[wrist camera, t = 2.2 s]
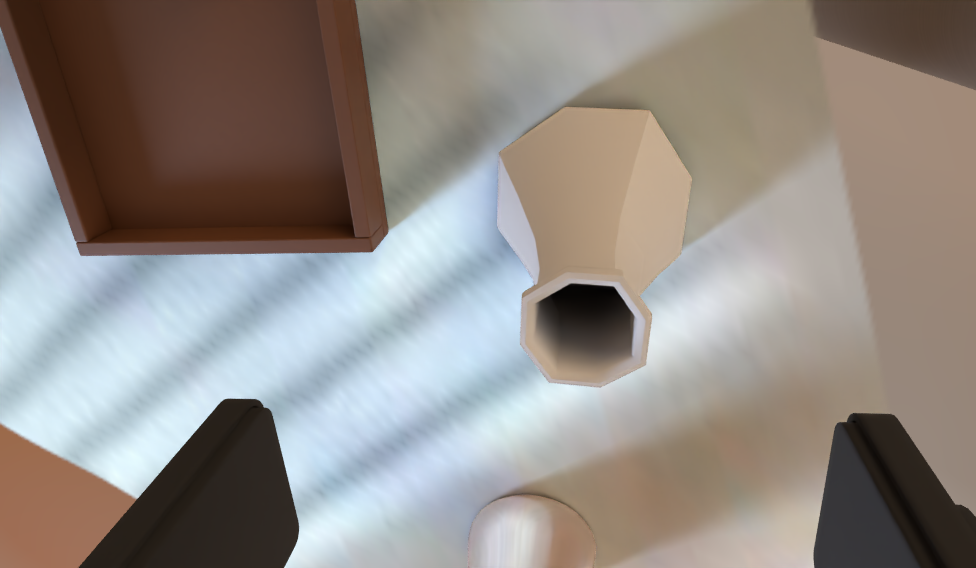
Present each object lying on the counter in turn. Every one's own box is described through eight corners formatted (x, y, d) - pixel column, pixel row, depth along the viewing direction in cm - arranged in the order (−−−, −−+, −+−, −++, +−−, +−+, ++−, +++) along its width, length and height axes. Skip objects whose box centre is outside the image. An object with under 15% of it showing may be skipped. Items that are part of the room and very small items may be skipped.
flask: (524, 306, 27) (486, 473, 18) (468, 133, 25) (391, 228, 16) (709, 267, 25) (767, 431, 16) (670, 74, 23) (714, 145, 14)
